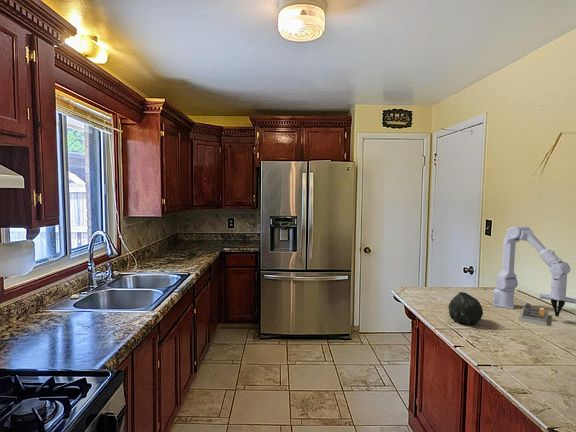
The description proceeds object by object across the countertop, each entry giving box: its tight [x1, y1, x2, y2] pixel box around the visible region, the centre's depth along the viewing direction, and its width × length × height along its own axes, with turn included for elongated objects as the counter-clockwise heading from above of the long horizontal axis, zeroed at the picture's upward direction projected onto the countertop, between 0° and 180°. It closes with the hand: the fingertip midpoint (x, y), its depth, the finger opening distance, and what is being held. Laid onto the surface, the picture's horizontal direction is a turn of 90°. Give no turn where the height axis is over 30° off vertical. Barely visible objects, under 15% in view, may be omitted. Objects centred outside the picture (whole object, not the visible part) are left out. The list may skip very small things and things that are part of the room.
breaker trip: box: [538, 307, 546, 316], centre depth 180 cm, size 2×2×4 cm
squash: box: [447, 291, 484, 325], centre depth 175 cm, size 14×15×15 cm
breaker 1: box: [524, 302, 532, 310], centre depth 188 cm, size 2×2×3 cm
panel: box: [518, 307, 549, 327], centre depth 182 cm, size 11×19×2 cm, turn 143°
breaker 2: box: [523, 307, 529, 316], centre depth 179 cm, size 2×2×3 cm
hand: (556, 315), depth 176 cm, fingers closed
